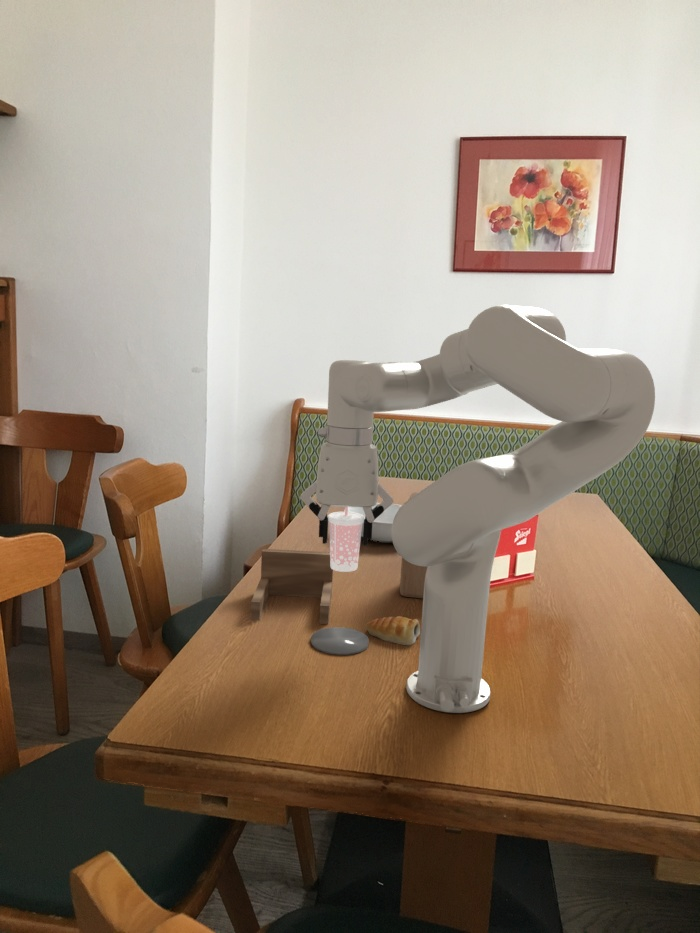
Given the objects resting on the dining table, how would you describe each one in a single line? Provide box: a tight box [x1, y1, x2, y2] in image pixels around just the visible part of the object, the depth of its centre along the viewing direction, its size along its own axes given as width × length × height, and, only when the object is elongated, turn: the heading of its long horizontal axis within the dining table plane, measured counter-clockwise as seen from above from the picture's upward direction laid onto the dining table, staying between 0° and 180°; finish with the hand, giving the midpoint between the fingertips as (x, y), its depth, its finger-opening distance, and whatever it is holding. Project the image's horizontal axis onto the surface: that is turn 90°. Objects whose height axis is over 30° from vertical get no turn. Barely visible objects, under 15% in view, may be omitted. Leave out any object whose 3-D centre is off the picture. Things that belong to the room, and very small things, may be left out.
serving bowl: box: [343, 502, 403, 543], centre depth 193 cm, size 21×21×7 cm
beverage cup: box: [327, 507, 364, 573], centre depth 126 cm, size 6×6×14 cm
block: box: [399, 492, 428, 599], centre depth 154 cm, size 10×10×20 cm
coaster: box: [310, 626, 370, 656], centre depth 130 cm, size 10×10×1 cm
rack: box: [250, 548, 334, 625], centre depth 144 cm, size 15×14×9 cm
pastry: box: [366, 615, 421, 646], centre depth 134 cm, size 9×7×4 cm
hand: (345, 541), depth 126 cm, fingers closed on beverage cup, 6 cm apart
